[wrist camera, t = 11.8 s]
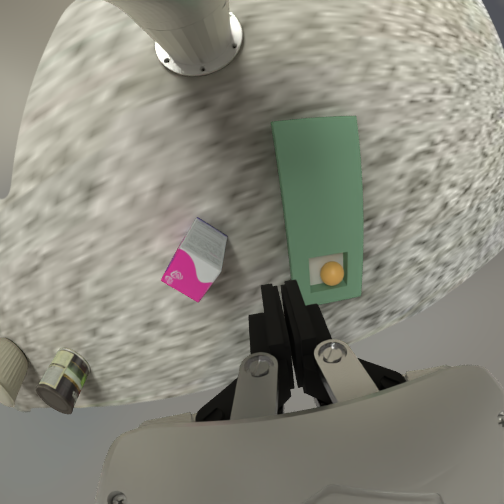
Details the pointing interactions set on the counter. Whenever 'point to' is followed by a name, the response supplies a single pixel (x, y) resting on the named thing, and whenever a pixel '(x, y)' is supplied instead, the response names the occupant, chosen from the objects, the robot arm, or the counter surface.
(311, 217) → the green
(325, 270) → the ball
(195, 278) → the supplement box
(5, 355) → the canister
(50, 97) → the counter surface
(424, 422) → the robot arm
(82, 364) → the coffee can
